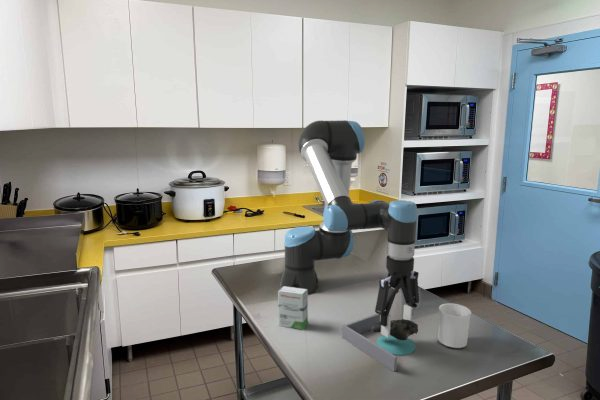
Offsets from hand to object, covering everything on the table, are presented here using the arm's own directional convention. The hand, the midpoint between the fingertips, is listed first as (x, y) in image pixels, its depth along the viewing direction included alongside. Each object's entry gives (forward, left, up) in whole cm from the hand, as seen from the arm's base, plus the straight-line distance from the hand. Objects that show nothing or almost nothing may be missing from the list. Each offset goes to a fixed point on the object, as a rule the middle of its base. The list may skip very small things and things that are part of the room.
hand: (396, 330), depth 121 cm
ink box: (-27, -18, -5) cm, 33 cm away
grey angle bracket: (-1, -3, -4) cm, 5 cm away
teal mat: (0, 0, -4) cm, 4 cm away
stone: (-1, 0, -2) cm, 2 cm away
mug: (+8, +16, -5) cm, 18 cm away
